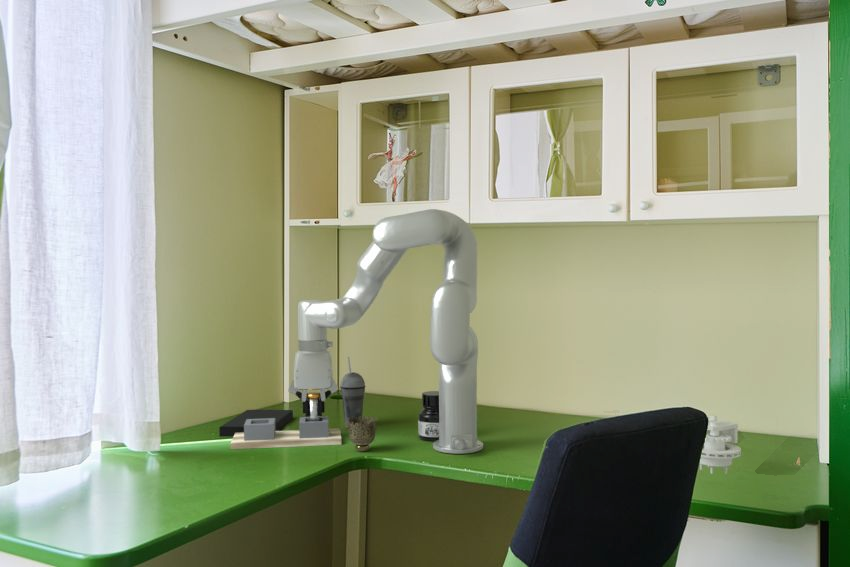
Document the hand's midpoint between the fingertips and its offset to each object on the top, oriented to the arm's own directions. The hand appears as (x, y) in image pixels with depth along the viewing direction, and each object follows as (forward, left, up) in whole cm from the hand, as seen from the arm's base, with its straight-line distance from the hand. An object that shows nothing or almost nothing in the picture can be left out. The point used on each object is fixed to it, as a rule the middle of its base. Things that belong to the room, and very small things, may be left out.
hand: (313, 415), depth 203 cm
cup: (-13, -12, -7) cm, 19 cm away
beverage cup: (+14, -11, -7) cm, 19 cm away
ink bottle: (-3, -32, -7) cm, 33 cm away
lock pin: (0, 0, -5) cm, 5 cm away
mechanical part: (-44, -89, -7) cm, 100 cm away
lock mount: (0, 0, -5) cm, 5 cm away
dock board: (0, +7, -7) cm, 10 cm away
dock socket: (0, +14, -5) cm, 15 cm away
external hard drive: (+19, +16, -7) cm, 26 cm away
